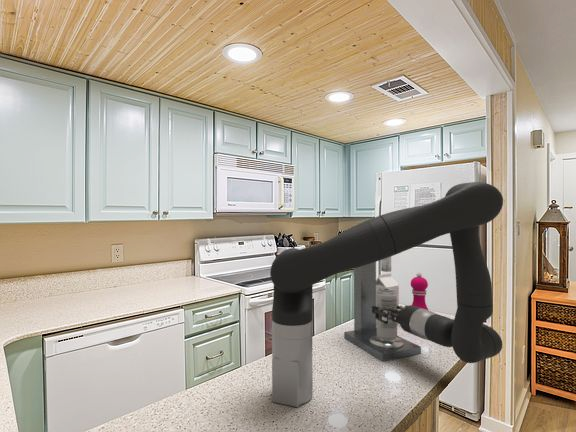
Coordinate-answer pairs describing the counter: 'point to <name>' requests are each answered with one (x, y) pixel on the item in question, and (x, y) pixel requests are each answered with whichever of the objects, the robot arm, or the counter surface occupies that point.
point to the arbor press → (366, 320)
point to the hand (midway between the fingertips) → (381, 308)
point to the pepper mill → (419, 291)
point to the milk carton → (387, 285)
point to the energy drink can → (384, 301)
